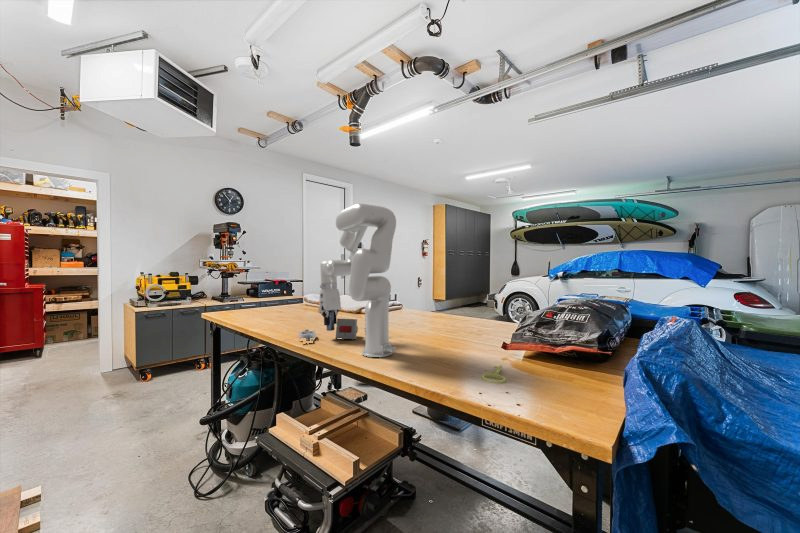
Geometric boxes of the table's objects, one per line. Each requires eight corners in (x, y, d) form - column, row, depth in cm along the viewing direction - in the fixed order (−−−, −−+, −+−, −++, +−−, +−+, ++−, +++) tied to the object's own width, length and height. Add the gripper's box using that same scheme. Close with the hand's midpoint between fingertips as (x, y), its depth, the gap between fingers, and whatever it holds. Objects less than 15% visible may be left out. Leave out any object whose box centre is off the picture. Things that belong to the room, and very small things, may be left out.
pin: (336, 329, 152) (335, 309, 152) (330, 330, 149) (329, 309, 149) (330, 329, 154) (330, 308, 154) (324, 330, 151) (324, 309, 151)
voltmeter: (338, 342, 145) (337, 321, 145) (333, 337, 156) (332, 317, 156) (390, 336, 156) (390, 317, 156) (383, 332, 166) (382, 313, 166)
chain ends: (316, 343, 144) (316, 337, 144) (299, 345, 141) (299, 338, 141) (314, 332, 167) (314, 326, 167) (299, 333, 165) (299, 327, 165)
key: (502, 371, 107) (502, 364, 107) (506, 385, 95) (506, 378, 95) (480, 369, 109) (480, 363, 109) (482, 383, 97) (482, 376, 96)
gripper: (320, 287, 143) (322, 327, 143) (346, 285, 156) (348, 322, 156) (310, 287, 147) (311, 326, 147) (336, 285, 161) (337, 321, 160)
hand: (330, 324), depth 151 cm, fingers closed on pin, 3 cm apart
